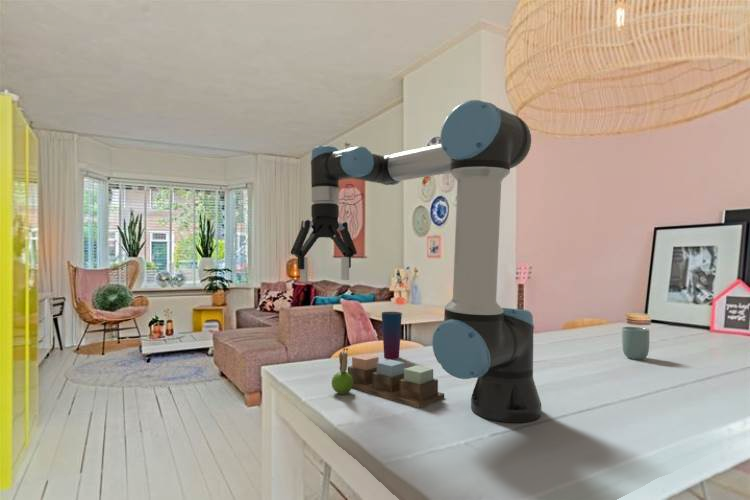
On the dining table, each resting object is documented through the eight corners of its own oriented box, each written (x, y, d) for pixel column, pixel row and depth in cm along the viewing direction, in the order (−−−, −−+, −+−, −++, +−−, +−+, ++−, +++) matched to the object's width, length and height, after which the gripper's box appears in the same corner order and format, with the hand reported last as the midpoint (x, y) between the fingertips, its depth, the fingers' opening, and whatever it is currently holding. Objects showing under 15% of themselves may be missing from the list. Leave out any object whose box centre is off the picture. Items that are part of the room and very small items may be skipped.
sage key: (433, 381, 109) (433, 368, 109) (420, 385, 105) (420, 372, 105) (416, 377, 112) (416, 365, 112) (404, 381, 108) (404, 369, 108)
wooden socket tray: (444, 397, 109) (444, 378, 109) (419, 408, 102) (419, 387, 102) (367, 377, 127) (367, 360, 127) (341, 384, 120) (341, 367, 120)
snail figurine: (334, 399, 108) (334, 349, 108) (329, 391, 114) (330, 343, 115) (356, 397, 110) (356, 347, 110) (350, 389, 116) (350, 342, 116)
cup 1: (379, 358, 149) (379, 313, 149) (384, 354, 156) (384, 311, 156) (398, 360, 147) (399, 314, 147) (403, 355, 154) (403, 311, 154)
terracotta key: (378, 368, 121) (378, 356, 121) (365, 371, 117) (365, 360, 117) (365, 364, 124) (365, 354, 124) (352, 368, 121) (352, 357, 121)
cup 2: (617, 357, 153) (617, 327, 153) (632, 354, 156) (632, 326, 157) (639, 362, 146) (638, 331, 146) (654, 359, 149) (654, 329, 149)
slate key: (404, 374, 115) (404, 362, 115) (391, 378, 111) (391, 366, 111) (389, 370, 118) (389, 359, 118) (376, 374, 115) (376, 362, 115)
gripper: (352, 207, 135) (352, 278, 135) (277, 201, 119) (277, 282, 119) (368, 205, 129) (368, 279, 129) (292, 198, 113) (292, 283, 113)
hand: (325, 280), depth 124 cm, fingers open, 13 cm apart
